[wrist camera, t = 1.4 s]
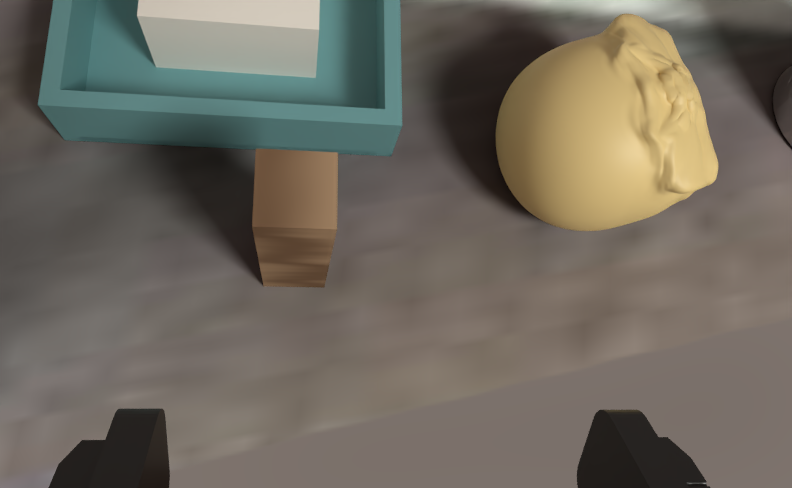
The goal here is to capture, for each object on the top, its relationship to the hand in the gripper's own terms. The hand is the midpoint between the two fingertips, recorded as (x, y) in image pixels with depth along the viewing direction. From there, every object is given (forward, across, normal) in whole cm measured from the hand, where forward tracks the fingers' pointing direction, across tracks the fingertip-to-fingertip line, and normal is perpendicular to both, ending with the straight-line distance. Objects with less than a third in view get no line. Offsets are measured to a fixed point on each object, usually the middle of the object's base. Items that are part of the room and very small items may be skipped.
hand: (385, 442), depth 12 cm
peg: (+26, +2, +11) cm, 29 cm away
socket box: (+38, +6, -1) cm, 39 cm away
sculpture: (+31, -16, +6) cm, 36 cm away
